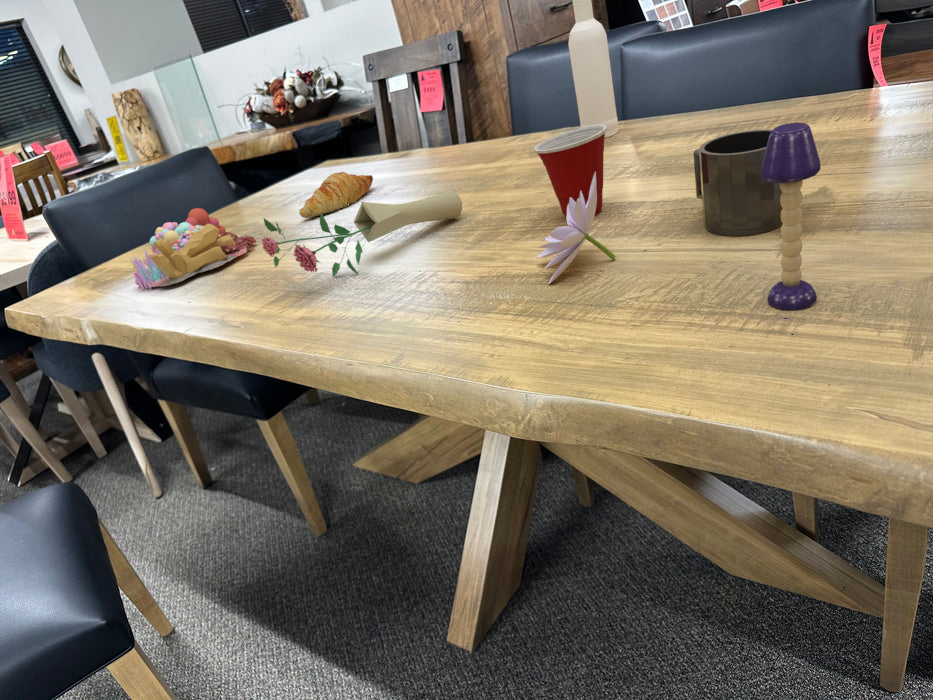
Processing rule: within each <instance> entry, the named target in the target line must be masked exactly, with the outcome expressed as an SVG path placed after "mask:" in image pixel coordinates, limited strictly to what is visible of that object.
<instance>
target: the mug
mask: <svg viewBox="0 0 933 700" xmlns="http://www.w3.org/2000/svg"><path fill="white" fill-rule="evenodd" d="M772 130H773V129H768V128H767V129H766V128H765V129H751V130H750V129H749V130H743V131H736V132H731V133H728V134H724V135H721V136H717V137H714V138H712V139H709V140H707V141H706V142H704V143H702V144H701V145H700V146H699V148H696V149H695V150H694V151H693V155H692V156H693V166H694V168H693V169H694V183H695V195H696V198H697V199H698V200H701V202H702V203H701V205H702V216H703V217H702V218H703V227H704V229H705V230H706V231H707V232H709V233H711V234H714V235H719V236H725V237H746V236H747V237H748V236H754V235H759V234H763V233H764V234H765V233H768V232H771V231H773V230H776V229H778V228H781V227H782V225H783V223H782V221H781V211H782V209H783V208H782V206H781V202H780V198H781V194H782V190H781V188H780V183H774V182H769V181H766V180H764V179H763V178H762V177H761V168H762V164H763V159H764V155H765V151H766V147H767V143H768V139H769V136H770V133H771V131H772Z"/></svg>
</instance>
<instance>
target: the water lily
mask: <svg viewBox="0 0 933 700" xmlns="http://www.w3.org/2000/svg"><path fill="white" fill-rule="evenodd" d="M596 204H597V190H596V172H595V174H594V176H593V180H592V183H591V187H590V192H589V198H588V201H587V204H586V205H585V200H584V197H583V194H582V192H581V191H580V198H578V199H577V202H575V201H574V200H573V199H572V198H571V197H570V200H569V204H568V206H567V216H566V217H565V219H566V223H567V225H563V226H559V227H556V228H554V229H553V230H552V231H550V233H549V235H547V236H546V237H545V238H544V241H546V242H549V243H545V244H542V245H540V246H537V248H538V249H544V250H543V251H541V252H540V253H539V254H537V256H536V259H542V258H547V257H551V256H554V255H556V256H555V257H554V258H553V259H552V260H551V261H549V262H548V264H547V265H545V267H544V270H545V269H548V268H550V267H552V266H554V265H556V264H557V263H559V262H561V261H562V260H563V259H564V260H563V261H562V262H561V263H560V264H559V266H558V267H557V268H556V269H555V271H554V273H553V274H552V276H551V278H550V280H549V282H548V285H551V284H552V283H553V282H554V281H555V280H556V279H557V278H559V277H560V276H561V275H562V273H563V272H564V271H566V269H567V268H568V267H569V266H570V265H571V263H572V262H573V261H574V259H575V258H576V256H577V255H578V254H579V252H580V250H581V248H582V246H583V244H584V242H585V240H587V241H588V242H590V243H591V244H593V245H594V246H595V247H596V248H598V249H599V250H600V251H601V252H603V253H604V255H606V256H607V257H608V258H609V259H611V260H612V261H614V260H615V259H616V258H617V255H615V254H614V253H613V252H612V251H611V250H609V249H608V248H607V247H606V246H604V244H602V243H601V242H599V241H598V240H597V239H595V238H593V236H590V235H589V232H590V230H591V227H592V225H593V222H594V218H595V216H596V215H595V211H596Z"/></svg>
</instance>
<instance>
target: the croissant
mask: <svg viewBox="0 0 933 700" xmlns="http://www.w3.org/2000/svg"><path fill="white" fill-rule="evenodd" d="M373 181H374V177H373V175H371V174H367V175H365V174H360V175H359V174H358V175H357V174H352V173H351V174H349V173H347V172H345V171H341V172H334V173H331V174H330V175H328V176H327V177H326V178H325V179H324V180H323V181H322V182H321V184H320V186H319V187H317V188H316V189H315V190H314V191H313V194H312V195H311V197H309V198H308V199H306V201H305V202H304V204H303V205H304V206H303V207H301V208H300V209H299V213H298V214H299V216H300V217H302V218H303V219H309V218H314V217H318V216H321V213H322V215H325V214H328V213H331V212H335V211H338V210H341V209H340V208H342V209H344V208H346V207H348V206H349V205H348V204H350V205H352V204H351V203H353V202H354V203H356V202H357V201H358V200H359V199H361V197H362V196H364V195H365V194H367V192H369V190H370V189H371V187H372V184H373ZM354 203H353V204H354ZM347 205H348V206H347ZM343 207H344V208H343ZM337 209H338V210H337Z"/></svg>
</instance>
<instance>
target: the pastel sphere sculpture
mask: <svg viewBox="0 0 933 700" xmlns="http://www.w3.org/2000/svg"><path fill="white" fill-rule="evenodd" d="M256 243H257V240H256V238H255V237H254V236H250V235H246V236H242V235H238V234H237V235H236V234H235V233H233V232H232V231H231V232H230V231H226V228H225V226H223V225H220V221H219V220H218V219H217V218H216V217H213V216H211V217H210V216H209V213H208V212H207V211H206V210H205V209H203V208H201V207H195V208H192V209H191V210H190V211H189V212H188V215H187V218H186V219H185V221H183V222H181V223H179V224H178V222H177V221H173V222H172V221H171V222H170V221H167V222H165V223H163V225H162V226H158V227H157V228H156V229H155V231H154V235H153V236H151V237H150V239H149V245H150V246H149V249H150V250H152V252H151V254H148V252H147V250H146V249H145V250H144V255H145V256H144V257H145V258H144V257H143V258H142V259H143V261H142V259H140V258H139V257H136V256H133V258H130V257H129V262H130V264H131V265H132V267H133V269H134V270H135V272H134V273H133V276H134V277H133V278H134V280H135V282H134V283H135V285H136V286H138V288H141V290H142V291H144V290H145V288H146V289H149V290H150V291H152V288H155V287H159V288H160V287H166V286H172V285H173V284H178V283H181V282H183V281H185V280H187V279H188V278H191V277H192V276H193V277H194V276H195V275H196V274H199V273H203V272H204V273H205V272H206V271H210V270H213V269H216V268H218V267H221V266H223V265H225V264H226V263H228V262H231V261H232V260H234V259H235V258H238V257H239V256H242V255H244V254H246V253H248V249H252V248H255V247H256V245H254V244H256Z"/></svg>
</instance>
